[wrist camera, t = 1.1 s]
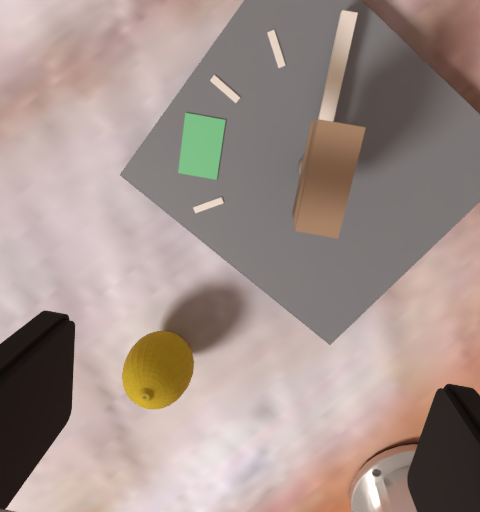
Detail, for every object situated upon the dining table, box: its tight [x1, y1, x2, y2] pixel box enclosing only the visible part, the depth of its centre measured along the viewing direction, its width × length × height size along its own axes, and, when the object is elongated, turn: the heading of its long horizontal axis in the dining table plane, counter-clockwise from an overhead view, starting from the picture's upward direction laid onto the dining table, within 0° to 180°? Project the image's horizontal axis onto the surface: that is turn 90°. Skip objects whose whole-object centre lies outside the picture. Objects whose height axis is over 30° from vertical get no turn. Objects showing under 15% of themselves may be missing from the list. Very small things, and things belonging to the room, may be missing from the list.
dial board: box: [120, 0, 480, 345], centre depth 31 cm, size 22×20×2 cm
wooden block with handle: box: [292, 10, 366, 239], centre depth 25 cm, size 13×2×9 cm, turn 170°
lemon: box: [122, 331, 194, 409], centre depth 34 cm, size 6×6×8 cm
